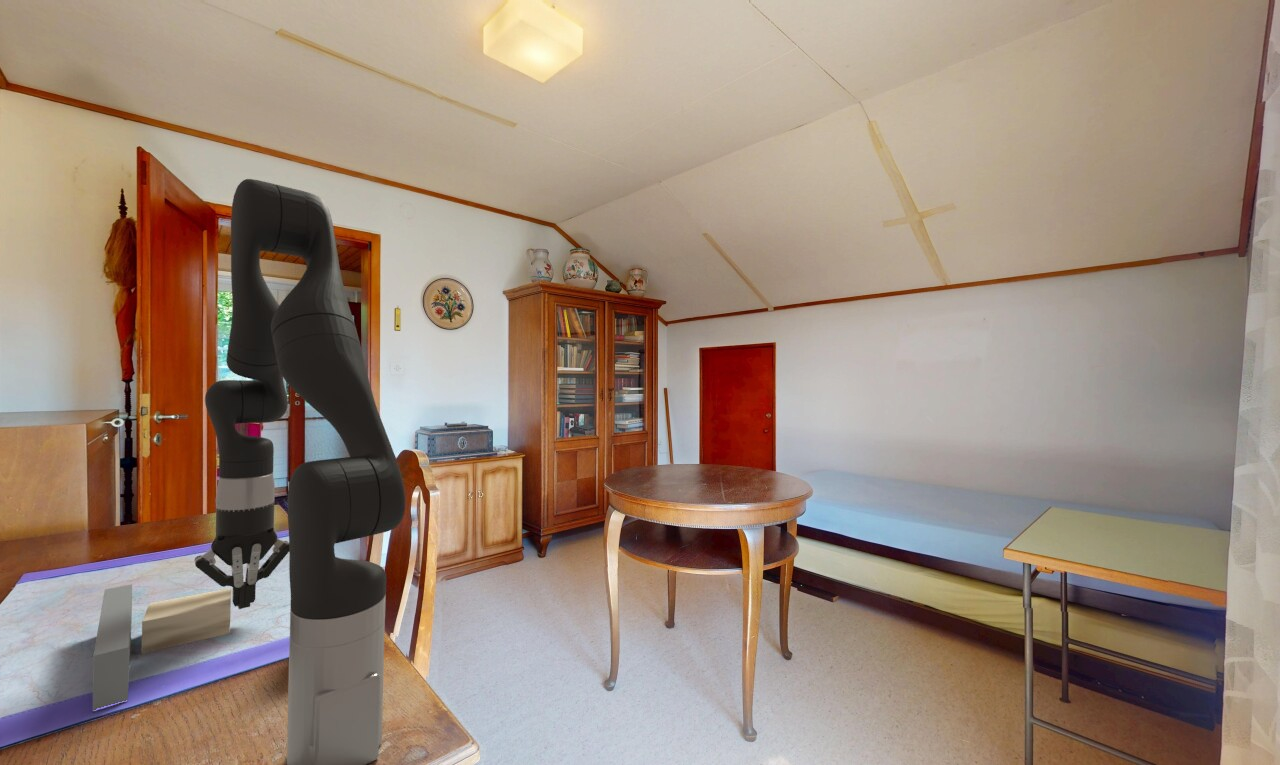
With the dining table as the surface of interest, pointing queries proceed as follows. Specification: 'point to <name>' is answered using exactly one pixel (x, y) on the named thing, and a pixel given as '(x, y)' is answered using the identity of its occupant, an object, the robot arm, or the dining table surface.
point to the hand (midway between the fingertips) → (244, 606)
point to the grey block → (113, 648)
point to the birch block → (186, 620)
